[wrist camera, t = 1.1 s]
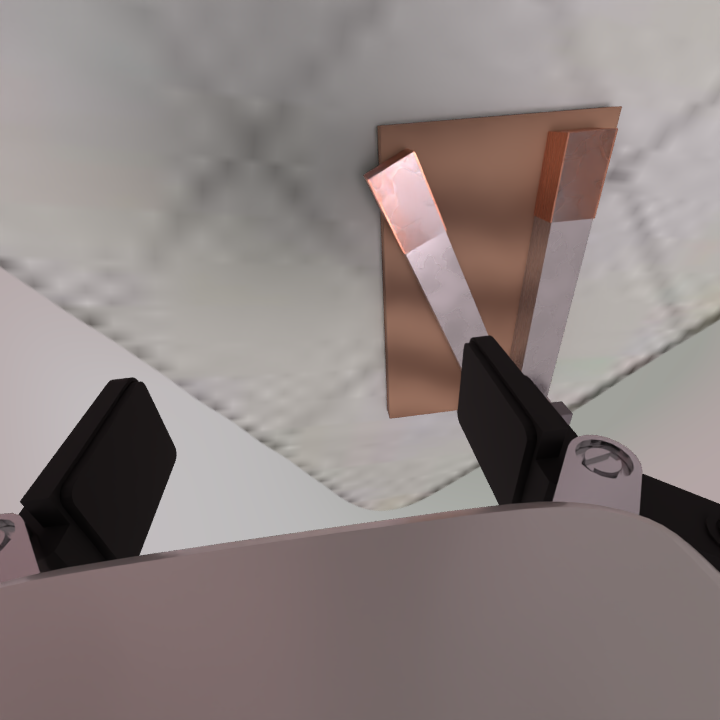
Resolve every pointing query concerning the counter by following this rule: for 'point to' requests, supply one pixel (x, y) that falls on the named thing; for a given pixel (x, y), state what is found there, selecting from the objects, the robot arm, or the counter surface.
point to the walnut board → (466, 239)
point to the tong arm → (426, 246)
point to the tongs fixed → (558, 244)
